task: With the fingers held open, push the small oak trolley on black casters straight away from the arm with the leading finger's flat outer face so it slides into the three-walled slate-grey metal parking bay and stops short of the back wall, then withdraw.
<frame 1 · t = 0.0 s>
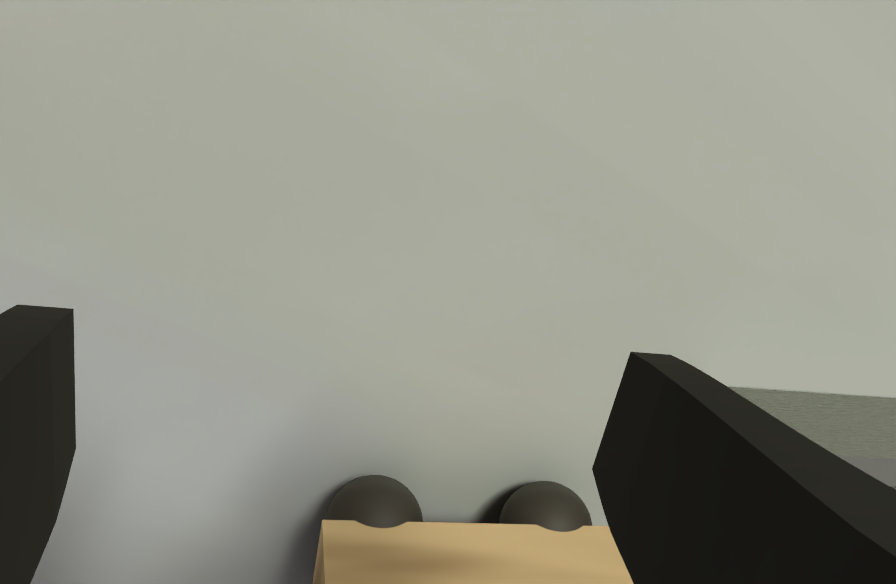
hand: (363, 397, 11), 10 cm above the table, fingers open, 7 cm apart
dock: (774, 542, 29), on the table
trolley: (443, 536, 26), on the table
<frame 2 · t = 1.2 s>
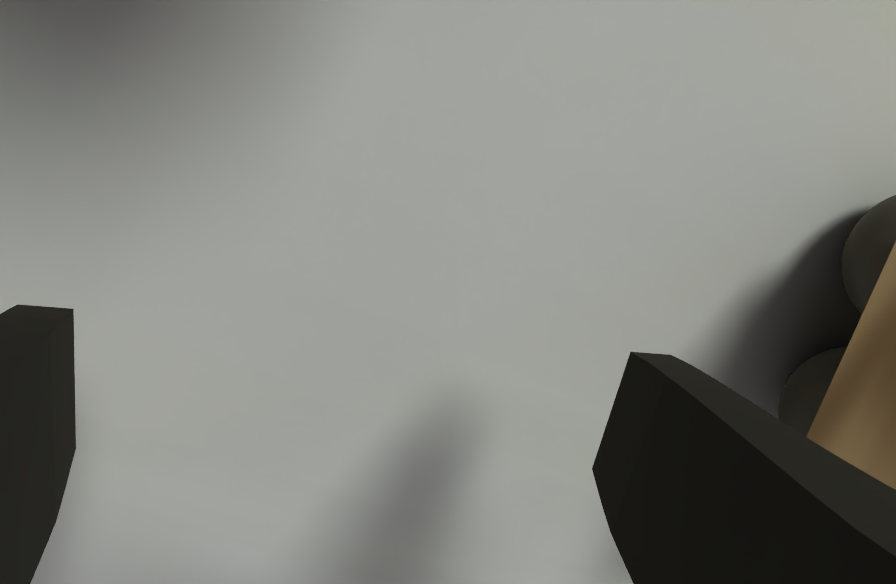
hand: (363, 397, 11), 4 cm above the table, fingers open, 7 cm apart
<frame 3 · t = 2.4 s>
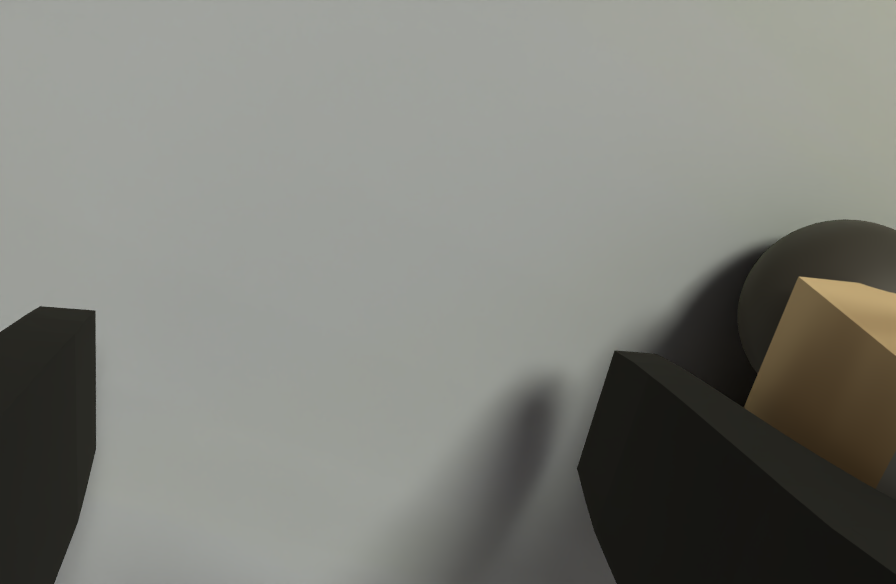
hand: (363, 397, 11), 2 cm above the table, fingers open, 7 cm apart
trolley: (882, 375, 14), on the table, touching gripper
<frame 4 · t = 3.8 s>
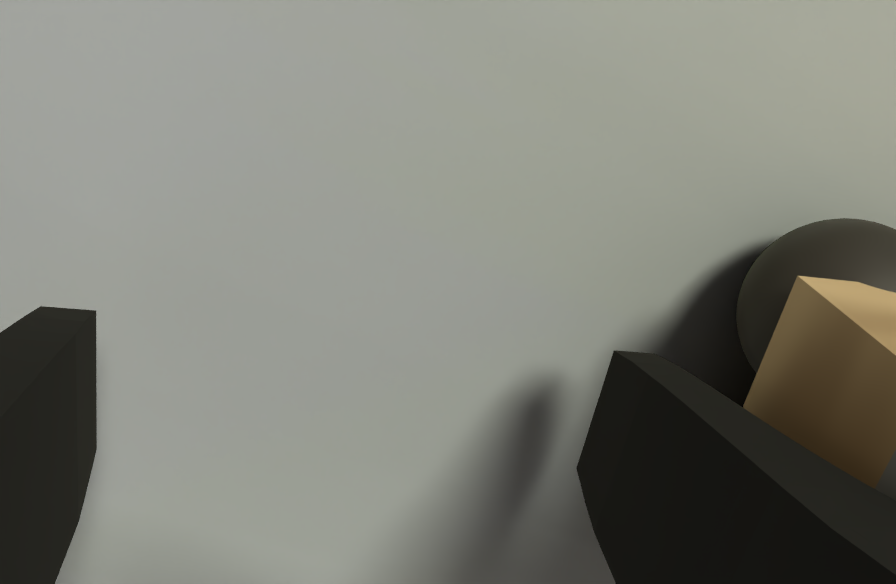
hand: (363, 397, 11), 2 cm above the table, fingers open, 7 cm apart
trolley: (881, 374, 14), on the table, touching gripper
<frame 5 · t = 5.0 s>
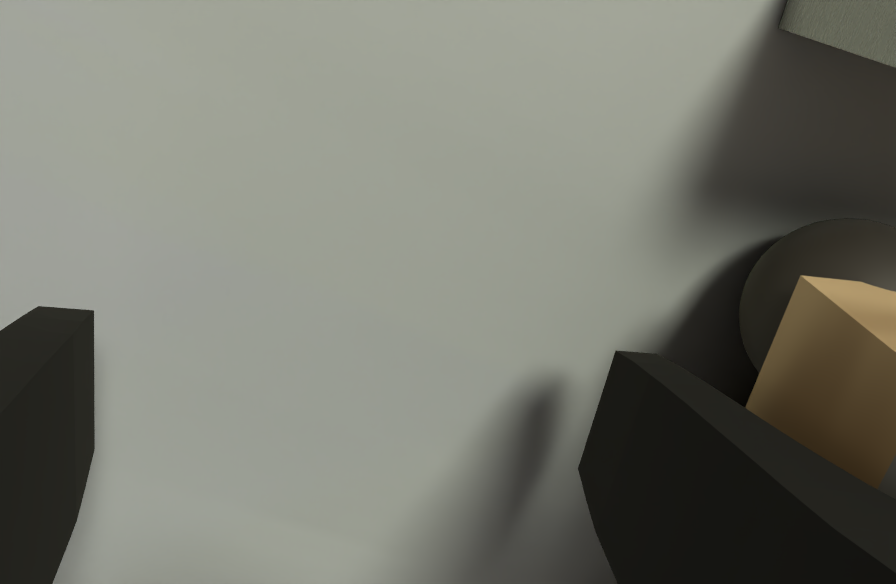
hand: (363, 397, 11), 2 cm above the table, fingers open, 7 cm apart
trolley: (883, 374, 14), on the table, touching gripper
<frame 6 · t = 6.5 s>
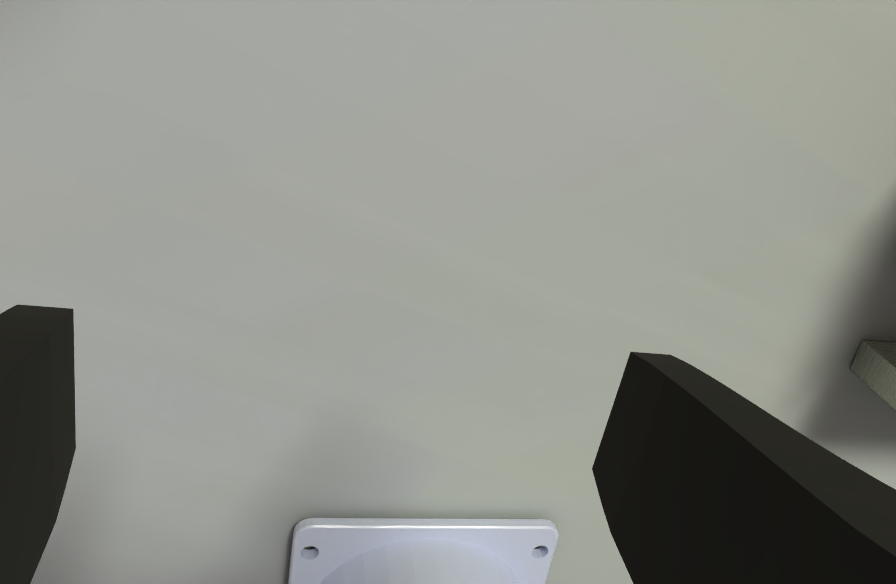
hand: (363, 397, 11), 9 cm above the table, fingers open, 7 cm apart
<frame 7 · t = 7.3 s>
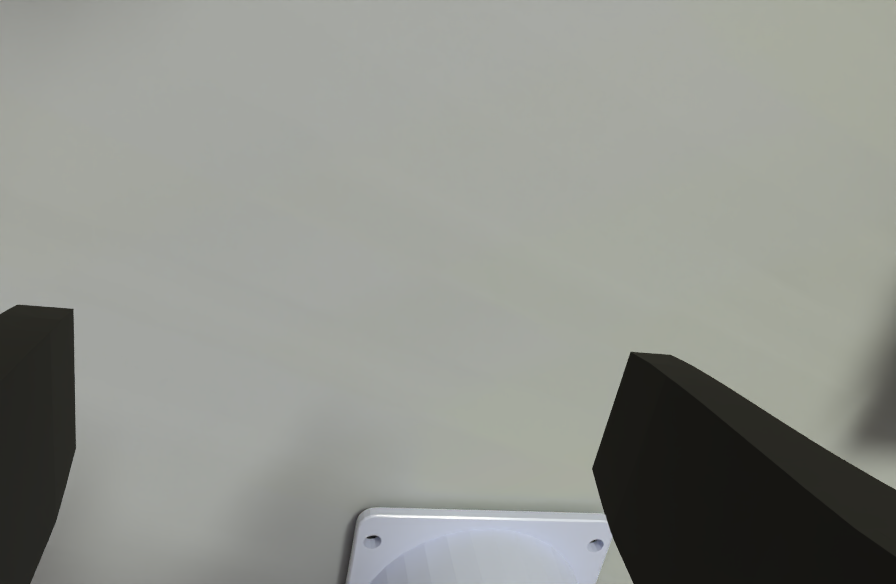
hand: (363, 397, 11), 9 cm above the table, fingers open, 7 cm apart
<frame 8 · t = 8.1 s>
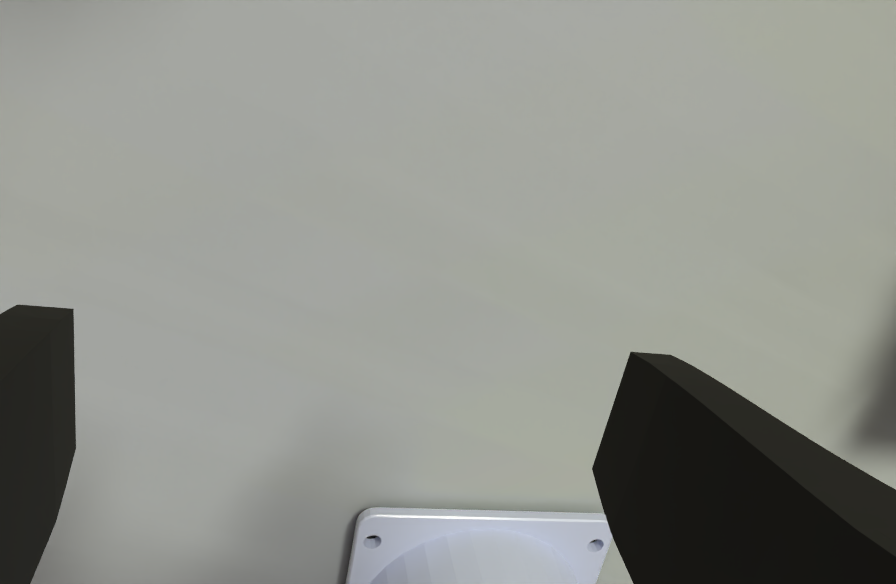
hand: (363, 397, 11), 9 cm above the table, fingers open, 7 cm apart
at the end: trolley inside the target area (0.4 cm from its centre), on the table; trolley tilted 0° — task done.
